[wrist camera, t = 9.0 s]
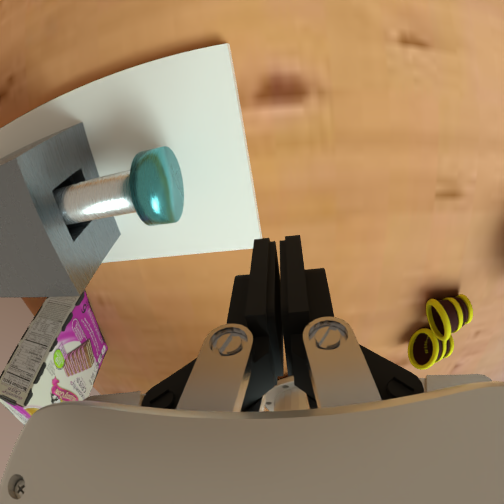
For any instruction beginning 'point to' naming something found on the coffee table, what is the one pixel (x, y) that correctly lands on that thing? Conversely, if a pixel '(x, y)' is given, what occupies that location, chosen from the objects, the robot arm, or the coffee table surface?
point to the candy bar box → (54, 358)
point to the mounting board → (164, 134)
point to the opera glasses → (439, 330)
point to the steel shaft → (129, 192)
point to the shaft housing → (48, 219)
